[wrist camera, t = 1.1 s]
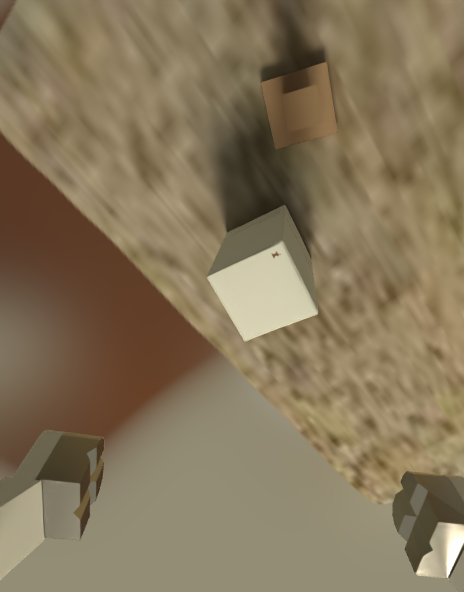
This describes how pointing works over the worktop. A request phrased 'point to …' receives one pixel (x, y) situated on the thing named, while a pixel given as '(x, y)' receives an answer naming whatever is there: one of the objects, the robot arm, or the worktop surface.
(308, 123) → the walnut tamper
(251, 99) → the worktop surface
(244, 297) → the supplement box
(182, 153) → the worktop surface
